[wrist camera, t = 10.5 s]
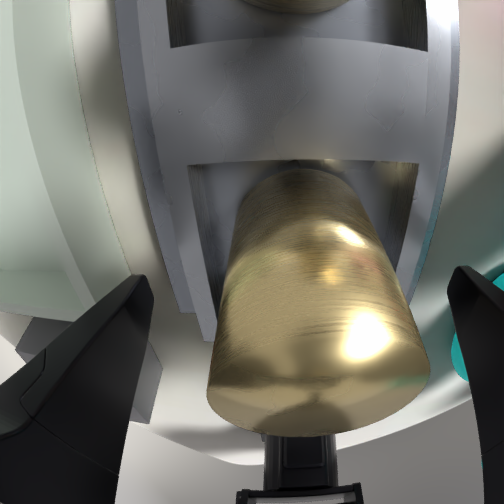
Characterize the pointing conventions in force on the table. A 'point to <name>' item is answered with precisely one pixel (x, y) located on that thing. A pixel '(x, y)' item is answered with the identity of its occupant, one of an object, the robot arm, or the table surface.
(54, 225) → the tray
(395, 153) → the grey flat frame
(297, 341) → the billet
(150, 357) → the grey square socket block
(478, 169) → the table surface
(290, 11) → the cylinder
